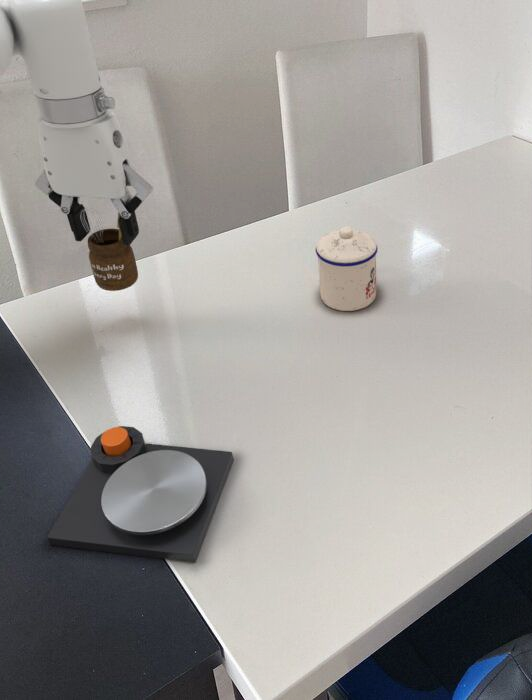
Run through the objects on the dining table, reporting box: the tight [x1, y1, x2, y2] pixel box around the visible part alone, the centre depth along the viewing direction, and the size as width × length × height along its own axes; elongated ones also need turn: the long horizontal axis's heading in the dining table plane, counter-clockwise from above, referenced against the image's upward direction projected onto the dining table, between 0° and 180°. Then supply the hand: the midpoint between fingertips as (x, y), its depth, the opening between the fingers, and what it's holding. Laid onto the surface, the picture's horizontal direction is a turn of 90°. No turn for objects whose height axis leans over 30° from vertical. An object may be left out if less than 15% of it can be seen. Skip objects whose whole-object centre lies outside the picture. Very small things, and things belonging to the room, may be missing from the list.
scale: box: [46, 425, 235, 563], centre depth 75 cm, size 16×15×3 cm
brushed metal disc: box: [101, 450, 207, 535], centre depth 73 cm, size 11×11×1 cm
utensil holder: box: [80, 207, 139, 292], centre depth 92 cm, size 6×6×12 cm
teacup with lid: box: [315, 226, 378, 312], centre depth 103 cm, size 12×9×12 cm
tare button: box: [101, 426, 131, 456], centre depth 78 cm, size 3×3×2 cm
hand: (107, 237), depth 92 cm, fingers closed on utensil holder, 6 cm apart
